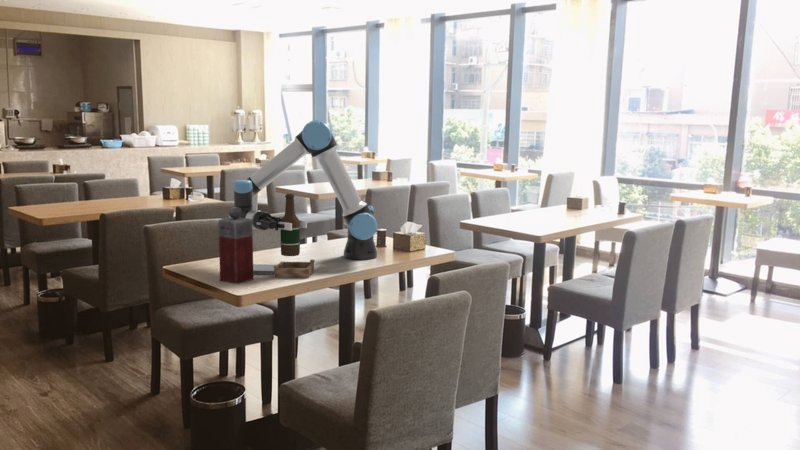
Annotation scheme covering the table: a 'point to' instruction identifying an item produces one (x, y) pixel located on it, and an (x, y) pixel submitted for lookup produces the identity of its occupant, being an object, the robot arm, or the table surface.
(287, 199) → the beer bottle
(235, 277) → the red square bottle
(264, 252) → the table surface
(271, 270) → the trivet
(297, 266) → the wooden tray
